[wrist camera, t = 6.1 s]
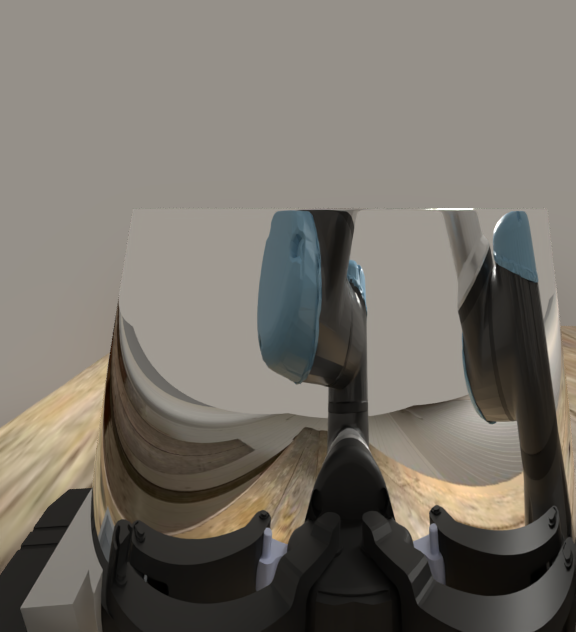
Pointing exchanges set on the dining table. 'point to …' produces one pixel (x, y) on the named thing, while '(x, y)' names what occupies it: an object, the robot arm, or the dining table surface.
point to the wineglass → (335, 425)
